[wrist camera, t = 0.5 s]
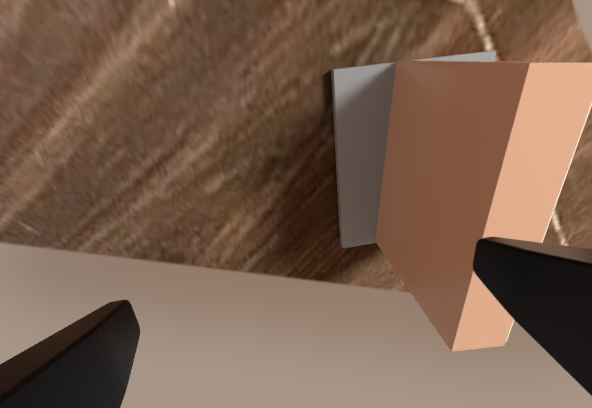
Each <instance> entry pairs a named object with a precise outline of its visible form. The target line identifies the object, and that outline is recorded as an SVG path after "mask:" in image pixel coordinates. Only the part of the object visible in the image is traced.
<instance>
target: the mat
mask: <svg viewBox="0 0 592 408" xmlns="http://www.w3.org/2000/svg"><path fill="white" fill-rule="evenodd" d="M495 55H496V51H484V52H476V53H467V54H459V55H450V56H442V57H433V58H425V59H416V60H408V61H495ZM395 68H396V62H391V63H382V64H374V65H365V66H357V67H348V68H340V69H331V77H332V96H333V115H334V134H335V153H336V172H337V191H338V210H339V230H340V244H341V246H342V248H349V247H355V246H361V245H367V244H373V243H376V242H375V238H376V230H377V221H378V213H379V204H380V196H381V187H382V179H383V170H384V162H385V153H386V145H387V136H388V127H389V119H390V110H391V102H392V93H393V85H394V76H395Z"/></svg>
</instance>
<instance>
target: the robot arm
mask: <svg viewBox="0 0 592 408" xmlns="http://www.w3.org/2000/svg"><path fill="white" fill-rule="evenodd" d="M473 270H474V272H475V274H476V276H477V277H478V278H479V279H480V280H481V282H482V283H483V284H484V285H485V286H486V288H487V289H488V290H489V291H490V292H491V293H492V295H493V296H494V297H495V298H496V299H497V301H498V302H499V303H500V304H501V305H502V307H503V308H504V309H505V310H506V311H507V312H508V313H509V315H510V316H511V317H512V318H513V319H514V320H515V321H516V322H517V323H518V324H519V325H520V326H521V327H522V328H523V329H524V330H525V331H526V332H527V333H528V334H529V335H530V336H531V337H532V338H534V339H535V340H536V342H537V343H538V344H540V345H541V346H542V347H543V348H544V349H545V350H546V351H547V352H548V353H549V354H550V355H551V356H552V357H553V358H554V359H555V360H556V361H557V362H558V363H559V364H560V365H561V366H562V367H563V368H564V369H565V370H566V371H567V372H568V373H569V374H570V375H571V376H572V377H573V378H574V379H575V380H576V381H577V382H578V383H579V384H580V385H581V386H582V387H583V388H584V389H585V390H586V391H587V392H588V393H589V394H590V395H591V396H592V249H586V248H578V247H570V246H563V245H555V244H547V243H539V242H532V241H524V240H516V239H509V238H501V237H487V238H481V239H479V240H478V241H477V243H476V247H475V253H474V259H473ZM139 336H140V327H139V324H138V321H137V319H136V316H135V314H134V311H133V309H132V306H131V304H130V302H129V301H128V300H120V301H114V302H110V303H108V304H106V305H105V306H102V307H101V308H99V309H97V310H95V311H94V312H92V313H90V314H88V315H87V316H85V317H83V318H81V319H80V320H78V321H76V322H74V323H73V324H71V325H69V326H68V327H65V328H64V329H62V330H60V331H58V332H57V333H55V334H53V335H51V336H50V337H48V338H46V339H44V340H43V341H41V342H39V343H37V344H35V345H34V346H32V347H30V348H28V349H27V350H25V351H24V352H21V353H20V354H18V355H16V356H14V357H13V358H11V359H9V360H7V361H5V362H4V363H2V364H0V408H120V406H121V403H122V401H123V398H124V395H125V392H126V388H127V385H128V381H129V377H130V373H131V369H132V365H133V361H134V357H135V353H136V349H137V345H138V341H139Z"/></svg>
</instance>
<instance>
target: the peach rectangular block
mask: <svg viewBox="0 0 592 408" xmlns="http://www.w3.org/2000/svg"><path fill="white" fill-rule="evenodd" d="M591 106H592V63H578V62H504V61H396V68H395V76H394V85H393V93H392V102H391V110H390V119H389V127H388V136H387V145H386V153H385V162H384V170H383V179H382V187H381V196H380V204H379V213H378V221H377V230H376V238H375V242H376V243H377V245H378V246H379V247H380V249H381V250H382V252H383V253H384V255H385V256H386V258H387V259H388V260H389V262H390V263H391V265H392V266H393V268H394V269H395V271H396V272H397V273H398V275H399V276H400V278H401V279H402V281H403V282H404V284H405V285H406V287H407V288H408V289H409V291H410V292H411V294H412V295H413V297H414V298H415V299H416V301H417V302H418V304H419V305H420V307H421V308H422V310H423V311H424V313H425V314H426V315H427V317H428V318H429V320H430V321H431V323H432V324H433V325H434V327H435V328H436V330H437V331H438V333H439V334H440V336H441V337H442V338H443V340H444V341H445V343H446V344H447V346H448V347H449V349H450V350H451V351H461V350H469V349H478V348H487V347H495V346H504V345H505V342H506V341H507V339H508V336H509V333H510V330H511V328H512V325H513V322H514V319H513V318H512V317H511V316H510V315H509V313H508V312H507V311H506V310H505V309H504V308H503V307H502V305H501V304H500V303H499V302H498V301H497V299H496V298H495V297H494V296H493V295H492V293H491V292H490V291H489V290H488V289H487V288H486V286H485V285H484V284H483V283H482V282H481V280H480V279H479V278H478V277H477V276H476V274H475V272H474V270H473V259H474V253H475V247H476V243H477V241H478V240H479V239H481V238H487V237H501V238H509V239H516V240H524V241H532V242H539V243H542V242H543V239H544V236H545V233H546V231H547V228H548V225H549V222H550V220H551V217H552V214H553V211H554V209H555V206H556V203H557V200H558V197H559V195H560V192H561V189H562V186H563V184H564V181H565V178H566V175H567V173H568V170H569V167H570V164H571V161H572V159H573V156H574V153H575V150H576V148H577V145H578V142H579V139H580V136H581V134H582V131H583V128H584V125H585V123H586V120H587V117H588V114H589V112H590V109H591Z"/></svg>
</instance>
